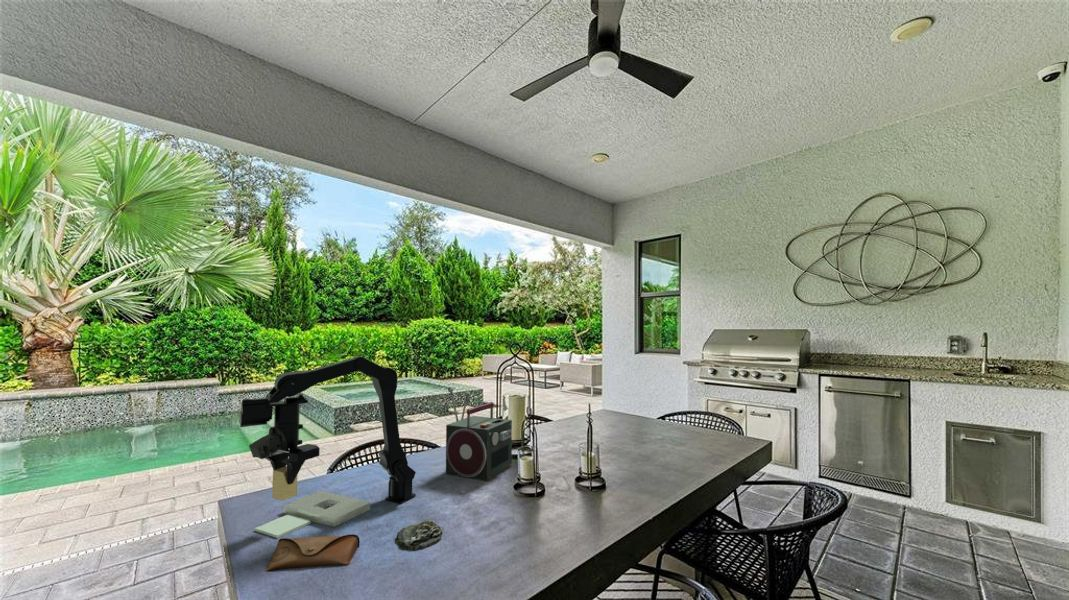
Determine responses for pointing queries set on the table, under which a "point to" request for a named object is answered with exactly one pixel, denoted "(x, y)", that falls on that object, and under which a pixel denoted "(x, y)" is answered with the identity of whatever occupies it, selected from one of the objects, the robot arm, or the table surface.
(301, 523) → the sage mat
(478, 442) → the boombox
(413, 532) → the mossy grey rock
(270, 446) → the robot arm
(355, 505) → the aluminium plate
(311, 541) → the sunglasses case
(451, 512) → the table surface
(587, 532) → the table surface
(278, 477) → the brass peg
